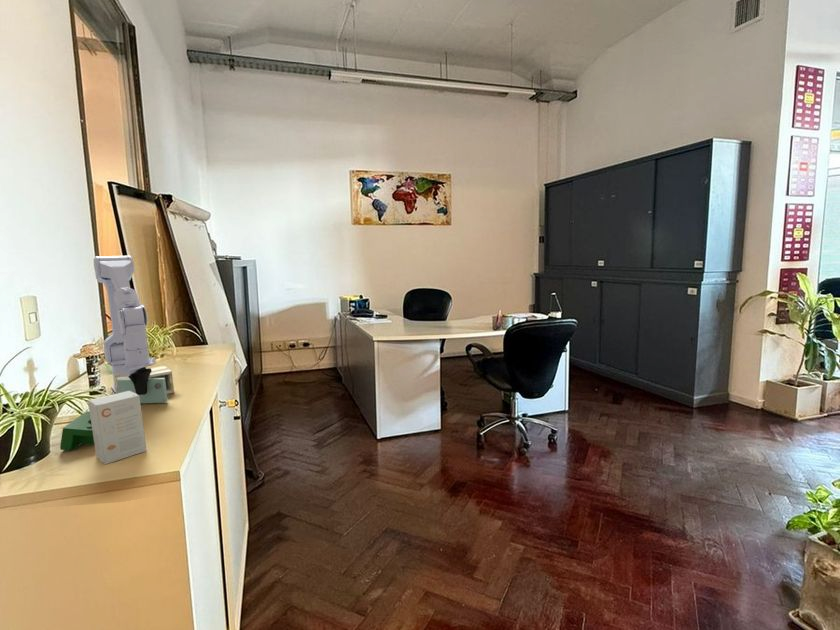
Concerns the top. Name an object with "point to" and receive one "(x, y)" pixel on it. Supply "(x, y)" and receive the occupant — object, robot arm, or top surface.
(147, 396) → the door
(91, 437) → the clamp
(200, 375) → the top surface
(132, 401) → the small box
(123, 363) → the robot arm
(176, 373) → the top surface
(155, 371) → the cabinet
